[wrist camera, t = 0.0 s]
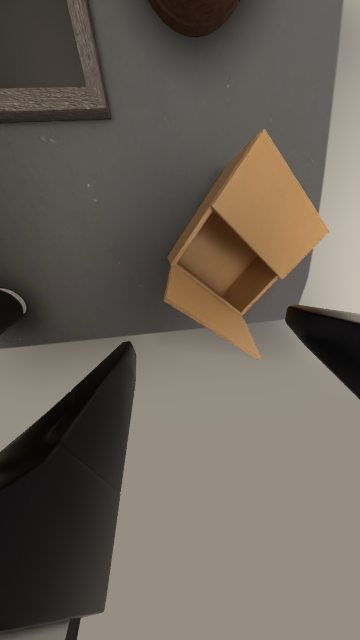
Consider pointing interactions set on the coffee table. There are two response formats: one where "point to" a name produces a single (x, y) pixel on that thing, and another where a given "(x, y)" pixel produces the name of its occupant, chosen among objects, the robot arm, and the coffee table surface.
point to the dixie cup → (10, 309)
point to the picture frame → (49, 62)
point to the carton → (248, 228)
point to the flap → (208, 311)
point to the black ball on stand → (194, 14)
